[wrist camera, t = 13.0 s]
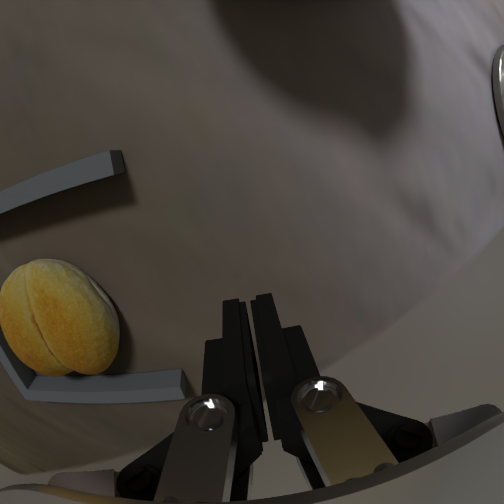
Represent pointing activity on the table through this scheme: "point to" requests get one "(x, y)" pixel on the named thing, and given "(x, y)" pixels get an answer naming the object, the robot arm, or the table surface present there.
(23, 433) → the table surface
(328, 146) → the table surface
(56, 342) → the bread roll
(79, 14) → the table surface
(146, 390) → the bay
